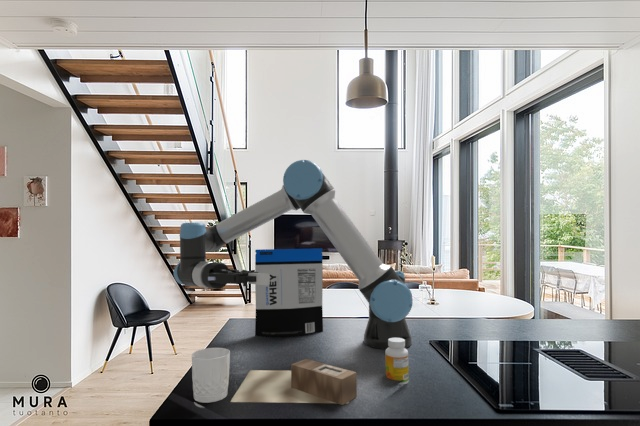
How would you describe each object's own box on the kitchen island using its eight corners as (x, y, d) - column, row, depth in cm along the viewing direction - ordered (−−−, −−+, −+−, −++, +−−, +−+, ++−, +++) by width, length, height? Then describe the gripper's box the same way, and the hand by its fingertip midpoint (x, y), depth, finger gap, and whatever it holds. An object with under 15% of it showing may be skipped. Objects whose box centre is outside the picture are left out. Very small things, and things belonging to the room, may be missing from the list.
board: (346, 375, 94) (346, 371, 94) (348, 409, 76) (348, 403, 76) (250, 375, 95) (250, 370, 95) (230, 407, 77) (230, 401, 77)
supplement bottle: (384, 376, 93) (383, 336, 93) (406, 376, 93) (405, 336, 93) (387, 385, 87) (386, 342, 88) (410, 385, 87) (410, 342, 88)
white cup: (196, 394, 83) (196, 348, 84) (232, 392, 84) (232, 347, 85) (186, 410, 76) (187, 359, 76) (226, 409, 76) (227, 358, 77)
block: (291, 363, 84) (342, 378, 75) (306, 358, 88) (356, 371, 79) (291, 387, 84) (342, 405, 75) (306, 380, 88) (356, 396, 79)
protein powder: (326, 334, 132) (325, 248, 134) (256, 339, 127) (256, 250, 129) (319, 328, 142) (319, 248, 143) (254, 332, 136) (254, 249, 138)
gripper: (230, 285, 115) (286, 291, 100) (191, 291, 105) (247, 298, 90) (230, 260, 115) (285, 262, 100) (191, 263, 105) (247, 266, 90)
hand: (267, 279), depth 95 cm, fingers closed
